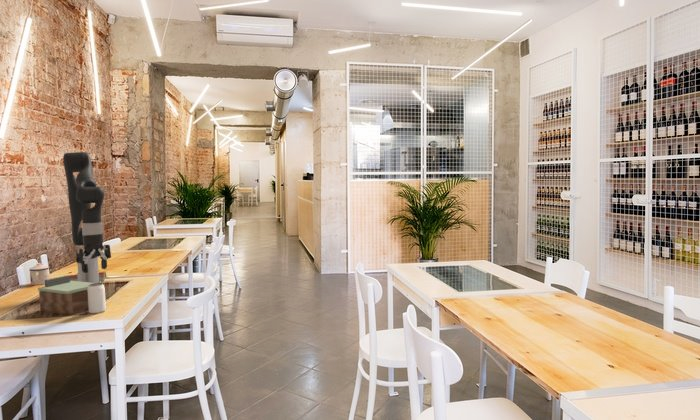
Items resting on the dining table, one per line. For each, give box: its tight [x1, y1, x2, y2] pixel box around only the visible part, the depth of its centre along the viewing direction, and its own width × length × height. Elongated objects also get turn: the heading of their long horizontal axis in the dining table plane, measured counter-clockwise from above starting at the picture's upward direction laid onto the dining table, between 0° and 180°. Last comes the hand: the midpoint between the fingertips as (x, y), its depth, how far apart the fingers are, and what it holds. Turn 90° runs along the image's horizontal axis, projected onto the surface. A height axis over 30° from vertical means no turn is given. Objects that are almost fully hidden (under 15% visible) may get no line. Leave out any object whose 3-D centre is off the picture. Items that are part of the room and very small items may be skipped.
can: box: [88, 282, 107, 314], centre depth 192 cm, size 6×6×12 cm
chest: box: [38, 289, 89, 316], centre depth 198 cm, size 20×14×9 cm
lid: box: [37, 275, 93, 294], centre depth 197 cm, size 20×15×4 cm
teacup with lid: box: [29, 262, 50, 286], centre depth 250 cm, size 12×9×12 cm
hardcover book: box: [66, 271, 107, 283], centre depth 255 cm, size 12×21×4 cm, turn 115°
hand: (94, 270), depth 191 cm, fingers open, 8 cm apart
